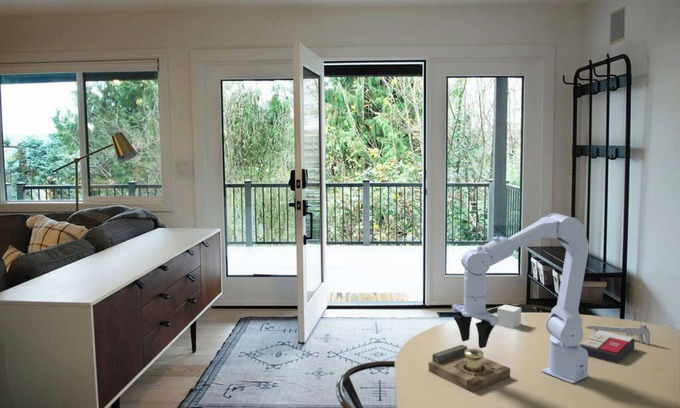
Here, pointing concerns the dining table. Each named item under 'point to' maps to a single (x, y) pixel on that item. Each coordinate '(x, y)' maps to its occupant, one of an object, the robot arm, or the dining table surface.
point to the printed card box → (608, 346)
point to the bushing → (473, 359)
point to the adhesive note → (509, 316)
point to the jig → (454, 370)
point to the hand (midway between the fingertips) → (473, 343)
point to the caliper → (626, 331)
